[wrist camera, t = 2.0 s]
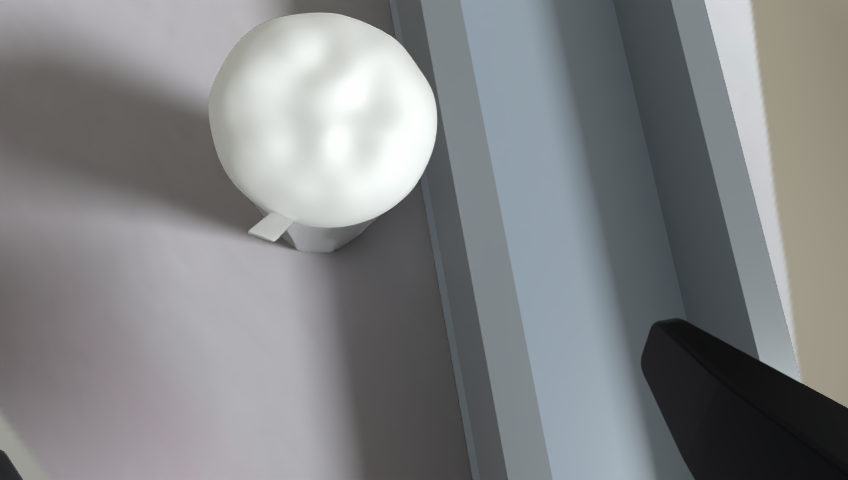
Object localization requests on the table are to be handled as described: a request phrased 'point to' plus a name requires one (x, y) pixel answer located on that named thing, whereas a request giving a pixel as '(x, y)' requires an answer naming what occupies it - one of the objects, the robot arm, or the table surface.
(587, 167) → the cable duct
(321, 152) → the milkshake
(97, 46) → the table surface
